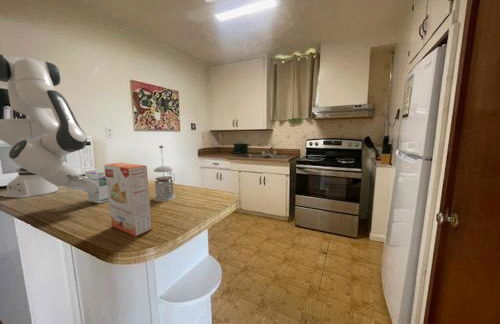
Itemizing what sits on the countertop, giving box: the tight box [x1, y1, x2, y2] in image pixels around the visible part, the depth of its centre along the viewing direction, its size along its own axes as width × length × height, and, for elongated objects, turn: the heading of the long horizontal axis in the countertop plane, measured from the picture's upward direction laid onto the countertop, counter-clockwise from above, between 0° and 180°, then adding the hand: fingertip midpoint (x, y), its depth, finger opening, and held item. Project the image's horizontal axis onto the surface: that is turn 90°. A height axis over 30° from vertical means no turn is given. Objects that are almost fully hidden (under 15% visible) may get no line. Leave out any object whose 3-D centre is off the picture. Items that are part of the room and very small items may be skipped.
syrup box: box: [88, 168, 109, 204], centre depth 93 cm, size 6×6×14 cm
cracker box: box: [104, 162, 153, 238], centre depth 65 cm, size 14×6×21 cm, turn 58°
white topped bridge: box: [84, 167, 105, 202], centre depth 99 cm, size 16×10×14 cm
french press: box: [153, 145, 177, 202], centre depth 97 cm, size 10×12×25 cm
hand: (93, 192), depth 90 cm, fingers closed, pressing on syrup box
